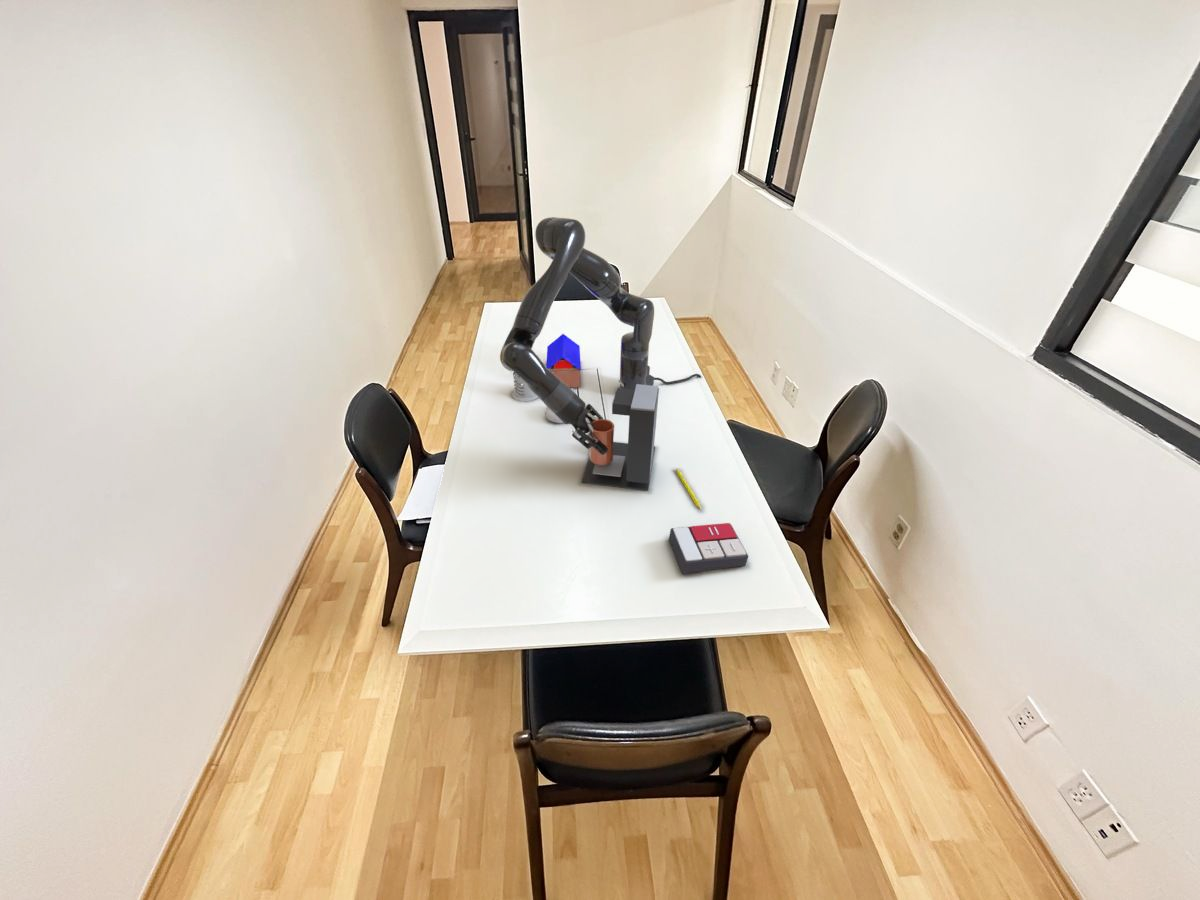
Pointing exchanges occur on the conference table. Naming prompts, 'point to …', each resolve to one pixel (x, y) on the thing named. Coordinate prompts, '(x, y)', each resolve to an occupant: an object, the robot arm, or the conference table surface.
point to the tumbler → (603, 441)
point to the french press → (522, 390)
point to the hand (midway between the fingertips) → (607, 444)
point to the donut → (552, 416)
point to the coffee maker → (635, 433)
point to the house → (565, 360)
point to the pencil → (688, 488)
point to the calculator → (707, 547)
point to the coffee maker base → (614, 481)
